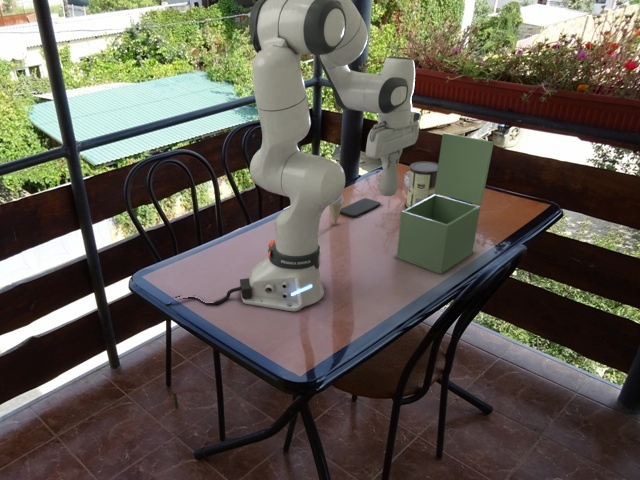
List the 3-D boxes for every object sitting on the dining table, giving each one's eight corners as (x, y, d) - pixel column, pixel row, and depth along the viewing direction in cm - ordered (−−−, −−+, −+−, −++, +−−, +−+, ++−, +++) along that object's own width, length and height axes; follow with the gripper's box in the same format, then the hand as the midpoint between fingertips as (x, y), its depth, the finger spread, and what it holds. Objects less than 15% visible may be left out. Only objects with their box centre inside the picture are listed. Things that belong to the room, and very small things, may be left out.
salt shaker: (397, 197, 165) (401, 154, 158) (377, 197, 166) (381, 154, 159) (396, 190, 170) (401, 148, 163) (377, 190, 171) (380, 148, 164)
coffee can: (431, 198, 199) (436, 160, 191) (440, 210, 190) (445, 170, 183) (402, 200, 200) (406, 162, 192) (409, 212, 191) (414, 172, 183)
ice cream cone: (333, 219, 190) (334, 177, 182) (345, 223, 187) (347, 181, 178) (324, 225, 187) (324, 182, 179) (336, 228, 184) (337, 185, 176)
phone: (381, 202, 197) (354, 215, 189) (381, 205, 197) (354, 218, 189) (364, 197, 202) (337, 210, 194) (364, 199, 202) (337, 212, 194)
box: (440, 274, 155) (447, 226, 147) (396, 257, 165) (401, 211, 157) (472, 253, 164) (480, 206, 156) (428, 238, 174) (434, 193, 166)
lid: (492, 142, 146) (502, 138, 149) (442, 133, 156) (452, 129, 159) (480, 205, 156) (489, 200, 158) (434, 192, 165) (443, 188, 168)
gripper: (380, 127, 148) (376, 177, 156) (424, 112, 159) (419, 159, 167) (361, 124, 153) (359, 172, 160) (406, 109, 164) (401, 155, 171)
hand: (390, 166), depth 163 cm, fingers closed on salt shaker, 3 cm apart
